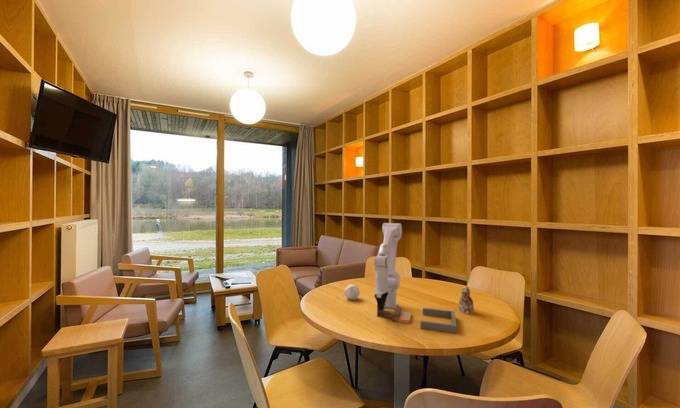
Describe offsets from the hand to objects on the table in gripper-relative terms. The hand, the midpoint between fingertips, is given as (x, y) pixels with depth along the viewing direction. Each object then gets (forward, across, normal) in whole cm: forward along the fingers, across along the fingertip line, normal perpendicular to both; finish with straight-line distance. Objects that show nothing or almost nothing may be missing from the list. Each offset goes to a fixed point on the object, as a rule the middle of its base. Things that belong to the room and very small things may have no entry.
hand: (381, 308), depth 143 cm
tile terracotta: (+4, -3, -11) cm, 12 cm away
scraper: (+3, 0, -3) cm, 5 cm away
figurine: (+4, +20, -39) cm, 44 cm away
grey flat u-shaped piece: (+3, 0, -25) cm, 26 cm away
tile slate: (+4, +3, -11) cm, 12 cm away
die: (+4, +20, +21) cm, 29 cm away
